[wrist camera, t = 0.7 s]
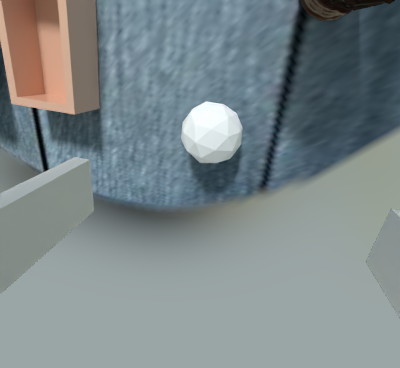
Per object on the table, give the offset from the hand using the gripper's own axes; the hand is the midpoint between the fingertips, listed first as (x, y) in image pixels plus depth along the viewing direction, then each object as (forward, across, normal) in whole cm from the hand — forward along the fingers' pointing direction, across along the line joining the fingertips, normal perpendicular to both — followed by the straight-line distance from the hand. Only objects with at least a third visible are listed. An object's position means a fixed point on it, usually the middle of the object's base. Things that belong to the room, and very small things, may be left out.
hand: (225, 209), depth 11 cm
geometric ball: (+26, -4, -2) cm, 27 cm away
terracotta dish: (+26, -25, +7) cm, 37 cm away
